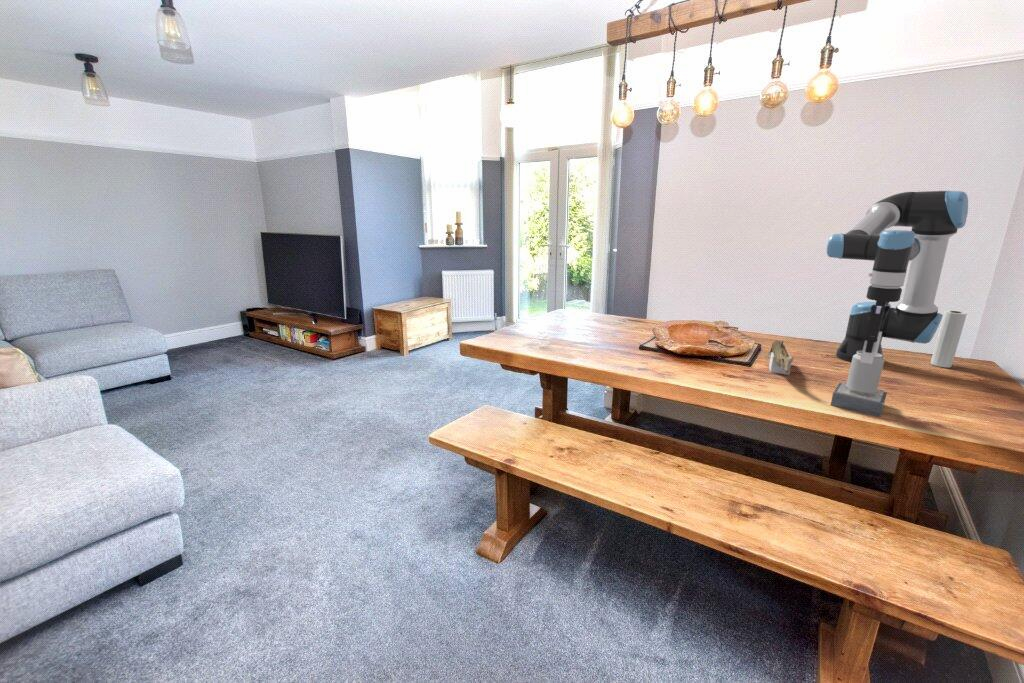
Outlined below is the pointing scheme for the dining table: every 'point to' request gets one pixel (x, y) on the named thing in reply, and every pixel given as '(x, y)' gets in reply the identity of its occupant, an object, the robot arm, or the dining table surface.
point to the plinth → (858, 400)
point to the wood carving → (779, 358)
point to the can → (864, 374)
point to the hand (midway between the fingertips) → (868, 357)
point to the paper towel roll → (948, 338)
